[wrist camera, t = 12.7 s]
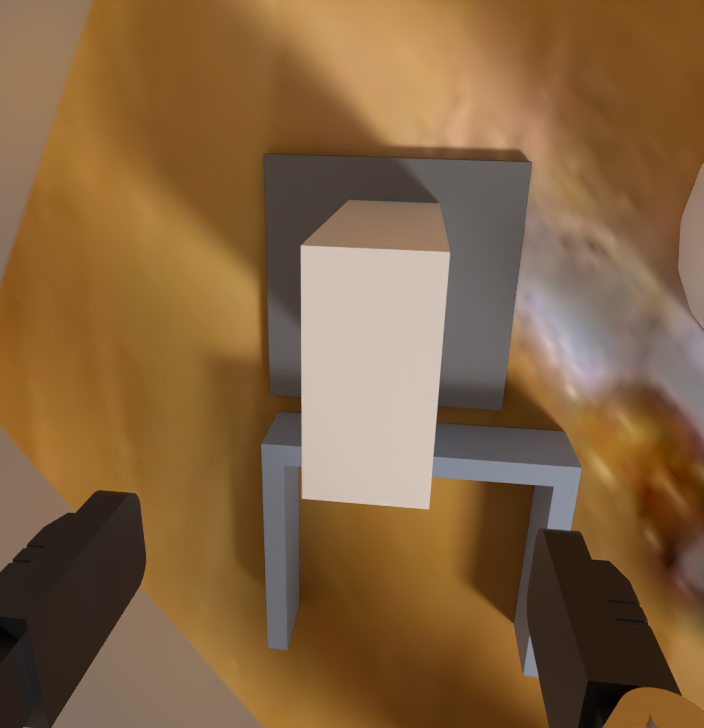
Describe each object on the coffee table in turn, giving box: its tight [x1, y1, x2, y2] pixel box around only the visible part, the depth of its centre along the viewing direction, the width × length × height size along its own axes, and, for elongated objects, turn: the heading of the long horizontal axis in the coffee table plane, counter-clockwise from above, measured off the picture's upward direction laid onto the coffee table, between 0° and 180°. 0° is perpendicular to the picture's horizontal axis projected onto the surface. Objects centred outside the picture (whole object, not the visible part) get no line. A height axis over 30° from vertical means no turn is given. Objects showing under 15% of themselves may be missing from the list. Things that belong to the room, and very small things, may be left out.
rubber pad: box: [264, 154, 532, 410], centre depth 32 cm, size 13×13×1 cm
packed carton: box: [301, 200, 450, 509], centre depth 26 cm, size 4×9×13 cm, turn 179°
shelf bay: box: [261, 412, 582, 677], centre depth 36 cm, size 14×16×4 cm
